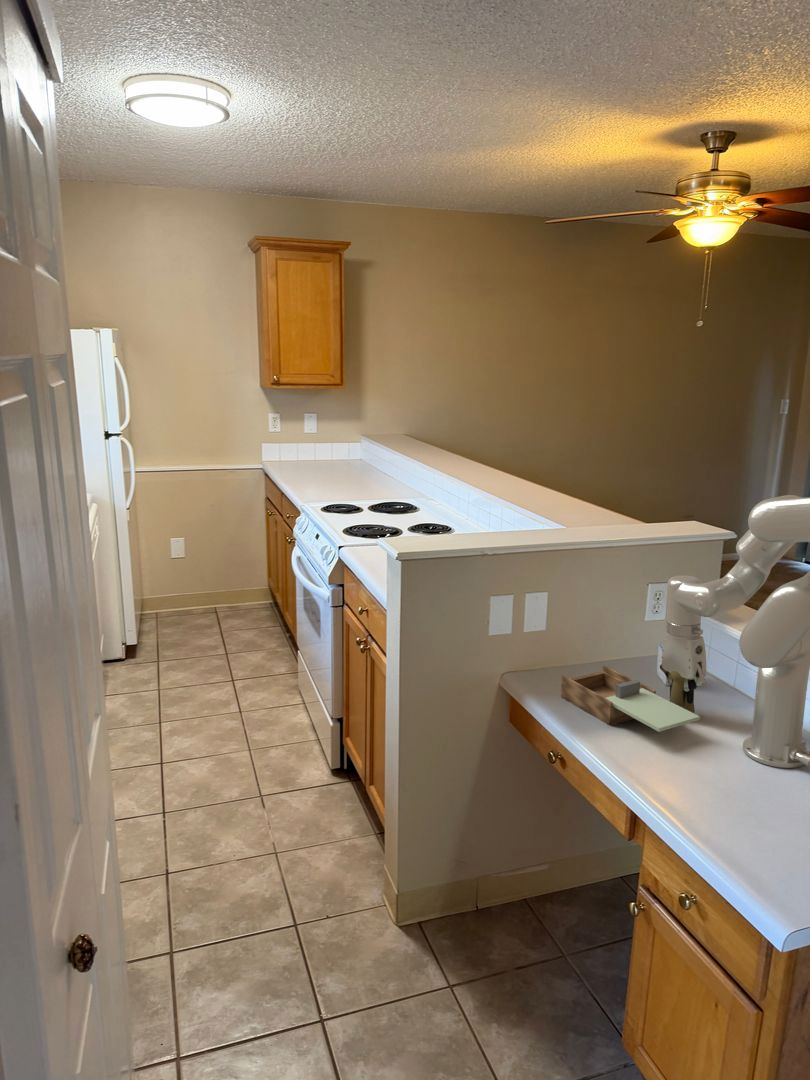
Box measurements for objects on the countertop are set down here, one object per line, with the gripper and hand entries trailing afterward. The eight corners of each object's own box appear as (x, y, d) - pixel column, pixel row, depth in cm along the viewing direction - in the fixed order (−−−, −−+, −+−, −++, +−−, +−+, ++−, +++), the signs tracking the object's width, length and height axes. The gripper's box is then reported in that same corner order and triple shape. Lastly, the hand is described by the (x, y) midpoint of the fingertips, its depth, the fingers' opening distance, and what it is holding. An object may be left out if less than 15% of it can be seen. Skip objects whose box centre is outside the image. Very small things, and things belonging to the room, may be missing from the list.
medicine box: (682, 686, 198) (684, 655, 196) (665, 686, 198) (667, 655, 196) (672, 674, 205) (674, 644, 204) (656, 674, 206) (657, 644, 204)
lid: (699, 719, 168) (700, 704, 168) (658, 731, 163) (659, 715, 162) (642, 691, 184) (643, 676, 183) (603, 701, 179) (604, 686, 178)
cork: (662, 708, 182) (663, 665, 180) (682, 704, 184) (683, 661, 182) (679, 718, 176) (681, 673, 174) (700, 713, 178) (701, 669, 176)
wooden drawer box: (654, 713, 182) (655, 690, 181) (609, 725, 176) (610, 702, 175) (603, 686, 198) (604, 665, 197) (561, 697, 192) (561, 675, 191)
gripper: (723, 634, 171) (720, 711, 174) (668, 617, 185) (667, 688, 189) (699, 640, 168) (697, 718, 171) (645, 622, 182) (644, 694, 185)
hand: (681, 702), depth 180 cm, fingers closed on cork, 3 cm apart
